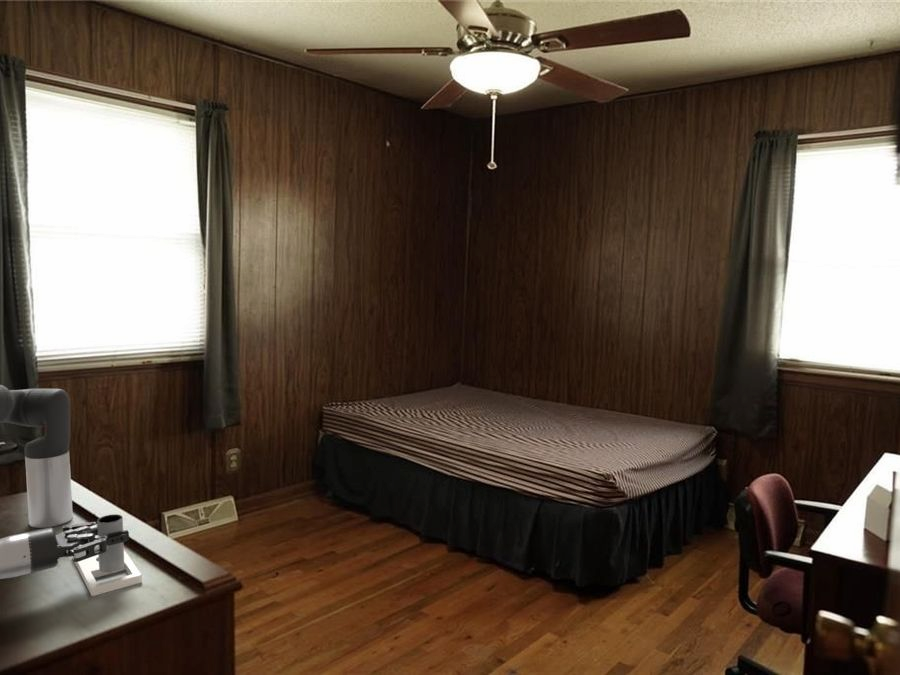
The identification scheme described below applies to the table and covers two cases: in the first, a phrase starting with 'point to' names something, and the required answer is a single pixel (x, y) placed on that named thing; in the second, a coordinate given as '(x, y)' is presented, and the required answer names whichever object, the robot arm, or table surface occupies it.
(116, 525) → the planter
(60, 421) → the robot arm
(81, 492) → the table surface
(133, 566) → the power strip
